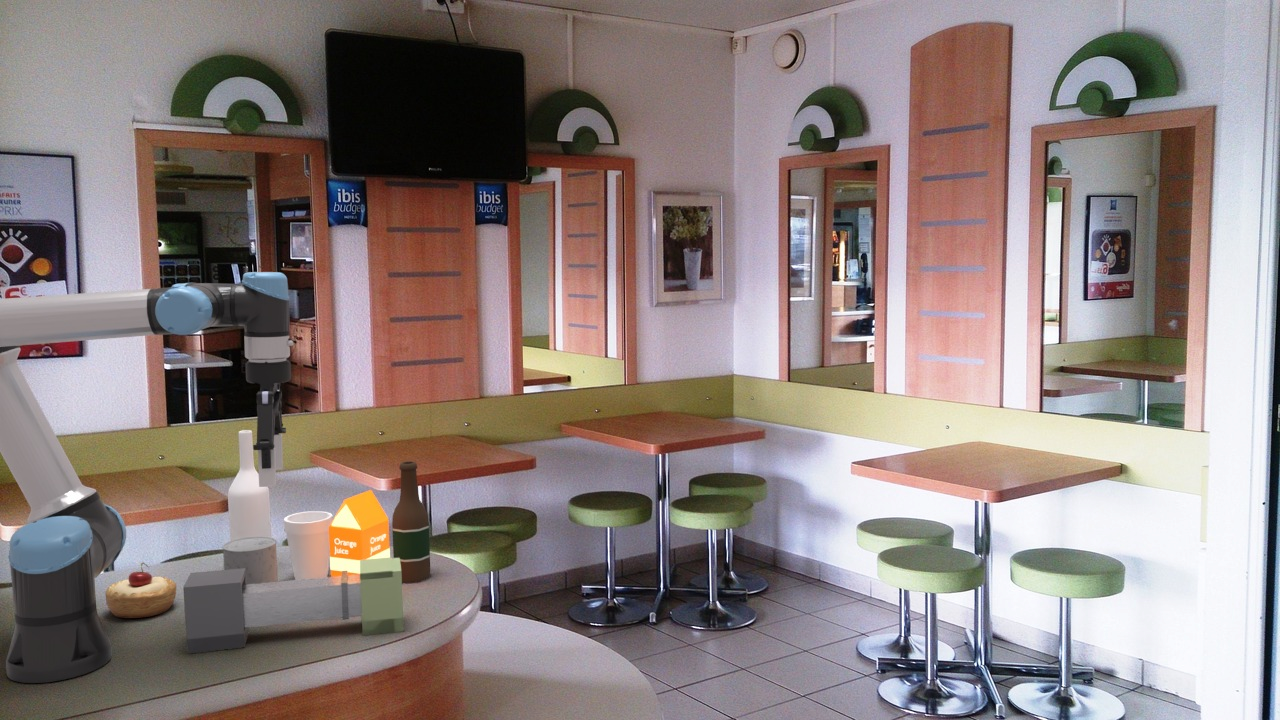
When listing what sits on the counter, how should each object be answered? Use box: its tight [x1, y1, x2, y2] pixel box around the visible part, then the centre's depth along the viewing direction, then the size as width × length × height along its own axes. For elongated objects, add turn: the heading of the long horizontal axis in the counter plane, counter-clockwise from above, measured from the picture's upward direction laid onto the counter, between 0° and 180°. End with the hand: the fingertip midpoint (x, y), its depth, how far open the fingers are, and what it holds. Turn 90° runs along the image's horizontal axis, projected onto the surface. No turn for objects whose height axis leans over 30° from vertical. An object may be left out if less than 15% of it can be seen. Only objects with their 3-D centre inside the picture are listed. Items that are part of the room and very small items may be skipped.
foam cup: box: [283, 510, 334, 580], centre depth 213 cm, size 10×9×13 cm
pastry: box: [104, 562, 177, 619], centre depth 196 cm, size 12×12×9 cm
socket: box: [360, 556, 405, 636], centre depth 187 cm, size 7×8×11 cm
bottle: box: [227, 429, 273, 542], centre depth 217 cm, size 8×8×30 cm
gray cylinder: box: [221, 537, 279, 584], centre depth 197 cm, size 10×10×12 cm
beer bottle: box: [391, 460, 431, 584], centre depth 213 cm, size 8×8×24 cm
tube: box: [242, 571, 362, 628], centre depth 184 cm, size 25×7×7 cm, turn 105°
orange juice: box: [329, 489, 391, 577], centre depth 203 cm, size 8×9×20 cm
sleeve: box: [182, 568, 250, 655], centre depth 180 cm, size 9×8×12 cm
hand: (271, 477), depth 187 cm, fingers open, 13 cm apart
